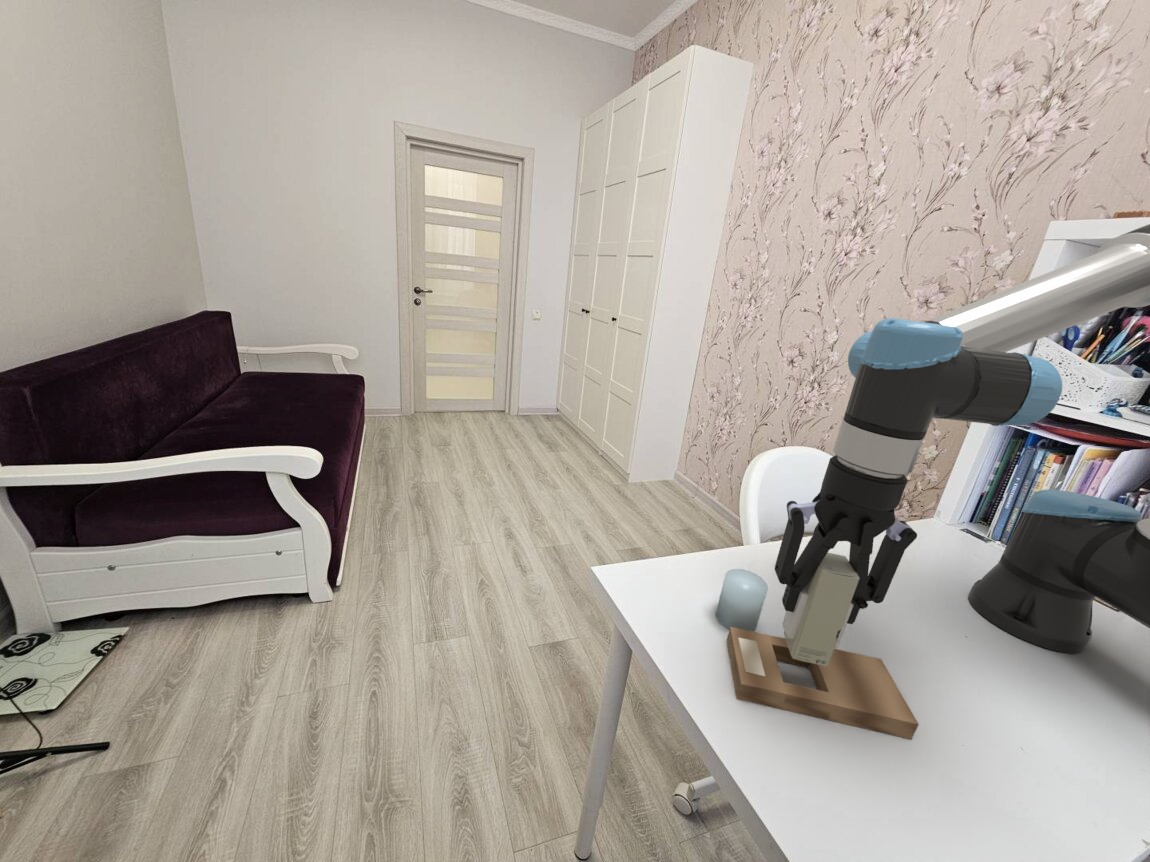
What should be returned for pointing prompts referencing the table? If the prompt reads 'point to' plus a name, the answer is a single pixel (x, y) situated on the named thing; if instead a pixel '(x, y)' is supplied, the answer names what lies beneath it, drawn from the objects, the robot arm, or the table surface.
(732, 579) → the pale blue capsule
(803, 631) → the box
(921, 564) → the table surface
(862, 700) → the brown flat wooden slab
